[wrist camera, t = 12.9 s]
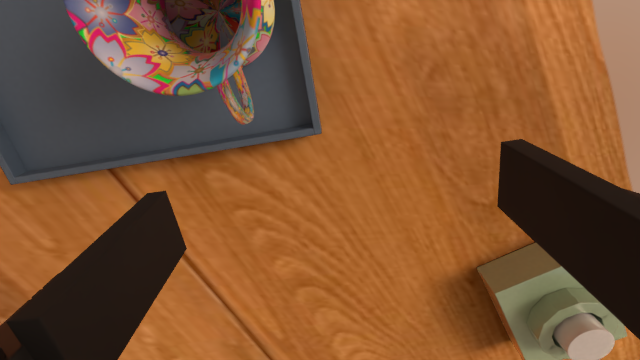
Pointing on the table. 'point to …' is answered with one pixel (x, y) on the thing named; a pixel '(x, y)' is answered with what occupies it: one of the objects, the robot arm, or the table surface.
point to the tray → (132, 100)
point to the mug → (178, 43)
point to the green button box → (539, 301)
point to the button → (583, 337)
